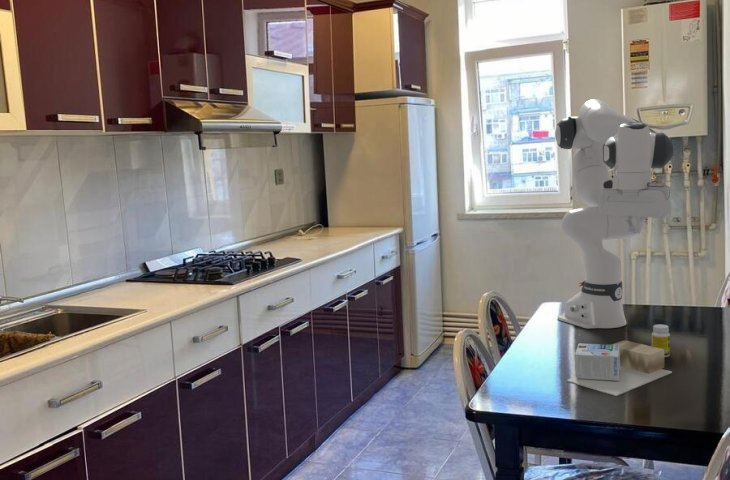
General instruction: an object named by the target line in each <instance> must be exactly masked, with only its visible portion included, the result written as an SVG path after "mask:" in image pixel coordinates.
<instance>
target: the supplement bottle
mask: <svg viewBox="0 0 730 480" xmlns="http://www.w3.org/2000/svg"><path fill="white" fill-rule="evenodd" d="M652 330H653V331H652V332H651V346H652V347H656V348H661V349H664V358H668V357H670V355H671V334H670V332H669V331H670V329H669V325H667V324H659V323H658V324H654V325H653V326H652Z"/></svg>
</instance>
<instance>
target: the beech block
mask: <svg viewBox="0 0 730 480" xmlns="http://www.w3.org/2000/svg"><path fill="white" fill-rule="evenodd" d="M611 345H620V364H621V366H622V367H625V368H629V369H633V370H637V371H640V372H644V373H648V374H650V373H652V372H655V371H657V370H660V369H664V368H665V357H664V349H661V348H656V347H652V345H647V344H643V343H637V342H634V341H630V340H626V339H625V340H624V339H623V340H621V341H618V342H615V343H611Z"/></svg>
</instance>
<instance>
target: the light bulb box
mask: <svg viewBox="0 0 730 480" xmlns="http://www.w3.org/2000/svg"><path fill="white" fill-rule="evenodd" d="M574 358H575V359H574V361H575V364H574V365H575V377H576V378H579V379H597V380H613V381H620V369H621V364H620V345H612V344H604V343H603V344H601V343H600V344H599V343H582V342H581V343H580V342H579V343H578V344H577V346H576V350H575V354H574Z"/></svg>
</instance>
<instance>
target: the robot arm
mask: <svg viewBox="0 0 730 480" xmlns="http://www.w3.org/2000/svg"><path fill="white" fill-rule="evenodd" d="M579 108H580V109H579V111H578V116H571V115H569V116H567V117H566V118H563V119H561V120H560V121H559V122H557V124H556V127H555V131H554V136H555V137H554V138H555V140H556V143H557V146H558V147H559V148H560V149H563V150H571V149H572V150H573V149H574V150H576V151H575V152H574V154H573V156H572V157H573V158H572V169H573V170H572V171H573V177H574V178H573V179H574V180H575V182H574V183H575V185H576V191H577V195H578V197H579V199H580V200H581V201H582V202H583V204H586V205H587V206H588V207H585V206H584V207H578V208H575V209H571V210H568V211H566V213H565V214H564V216H563V217H562V221H561V226H562V227H561V228H562V231H563V233H564V235H565V237H567V238H568V239H569V240H570V241H572V242H573V243H574V244H575V245H576V246H577V247H578V248H579V250H580V252H581V254H582V256H583V260H584V270H585V279H584V281H582V282H579V283H578V287H581V290H580V292H579V291H578V293H576V294H575V295H574V296H572V297H571V298H569V299H568V300H567V301H566V303H565V306H564V312H562V313H561V314H559V315H558V316H557V320H559V321H561V322H564V323H568V324H571V325H574V326H577V327H580V328H583V329H614V328H615V329H616V328H621V327H622V328H623V327H624V326H626V325H627V321H626V316H625V312H624V306H623V301H622V299H623V289H624V287H623V282H622V261H621V258H620V256H619V255H618V254H616V253H615V252H613V251H612V250H609V249H606V248H605V247H604V245H603V241H608V240H612V241H613V240H626V239H630V238H633V237H638V236H639V235H640V234H641V232H642V231H643V230H644V225H645V218H653V219H655V218H656V219H663V218H664V219H665V218H669V217H670V215H671V214H672V205H671V204H672V203H671V198H670V196H671V189H670V186H668V185H667V184H665V182H652V169H663V168H664V167H665V166H667V165H668V163H669V162H670V161H671V160H672V158H673V155H674V144H673V142H672V140H671V139H670V137H669V136H668V135H666V133H664V132H663V131H662V132H661V131H660V132H657V131H655V130H653V129H652V128H651V127H649V125H648V124H646V123H645V122H641V121H639V120H636V119H634V118H631V117H629V116H627V115H626V114H623V113H620V112H619V111H617V110H615V109H614V108H613V106H611V105H610V104H609V103H608V102H605V101H603V100H601V99H597V98H596V99H594V98H593V99H589V100H587V101H586V102H584V103H583V104H582V105H581V107H579ZM608 168H609V169H614V170H616V176H614V177H611V178H610V173H609V169H608ZM589 206H590V207H589Z"/></svg>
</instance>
